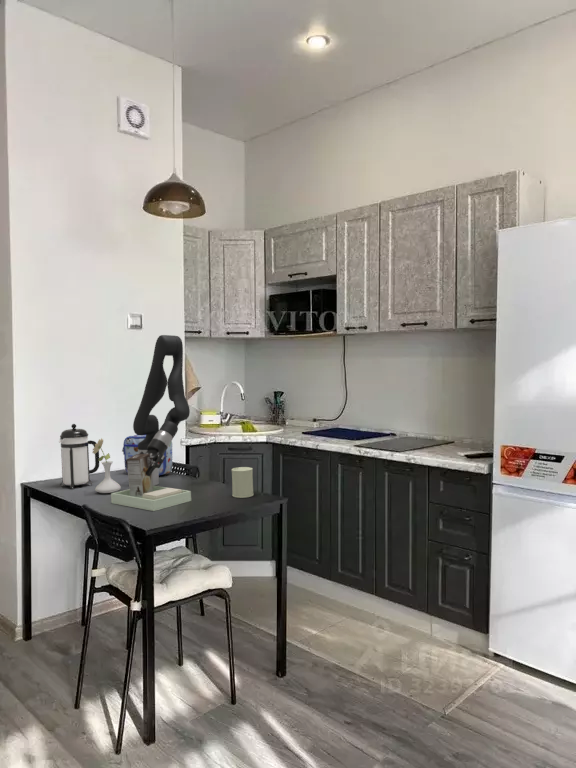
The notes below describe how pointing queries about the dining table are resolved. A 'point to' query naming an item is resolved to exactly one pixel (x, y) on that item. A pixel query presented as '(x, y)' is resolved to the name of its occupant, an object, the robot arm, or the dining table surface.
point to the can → (242, 482)
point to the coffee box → (139, 475)
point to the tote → (148, 504)
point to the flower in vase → (107, 483)
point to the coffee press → (76, 457)
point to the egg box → (161, 493)
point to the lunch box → (132, 449)
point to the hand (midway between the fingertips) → (140, 474)
